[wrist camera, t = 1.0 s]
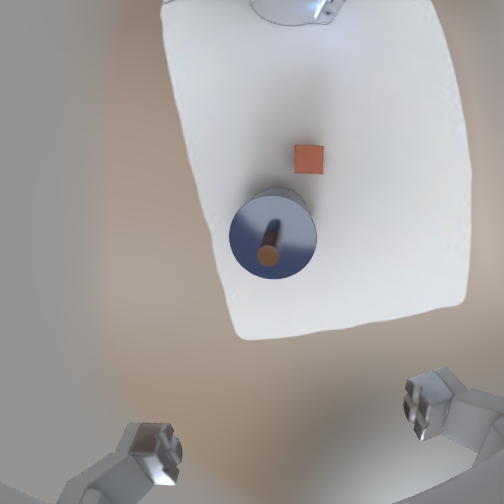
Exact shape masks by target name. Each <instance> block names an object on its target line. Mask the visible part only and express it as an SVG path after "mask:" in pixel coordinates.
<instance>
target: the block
mask: <svg viewBox="0 0 504 504" xmlns="http://www.w3.org/2000/svg"><path fill="white" fill-rule="evenodd" d="M323 149H324V146H309V145H295V173H308V174H323Z"/></svg>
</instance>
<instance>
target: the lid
mask: <svg viewBox="0 0 504 504" xmlns="http://www.w3.org/2000/svg"><path fill="white" fill-rule="evenodd" d="M229 241H230V247H231V250H232V252H233V254H234V256H235V258H236V259H237V261H238V262H239V263H240V265H241V266H242V267H243V268H245V269H246V270H247V271H249V272H250V273H252V274H254V275H256V276H259V277H262V278H266V279H282V278H286V277H289V276H292V275H294V274H296V273H298V272H299V271H300V270H302V269H303V268H304V267H305V266H306V265H307V264H308V263H309V261H310V260H311V258H312V256H313V254H314V251H315V248H316V243H317V235H316V228H315V225H314V222H313V220H312V218H311V216H310V214H309V213H308V212H307V210H306V209H305V208H304V207H303V206H302V205H300V204H299V203H298V202H296V201H294V200H293V199H290V198H288V197H285V196H281V195H263V196H260V197H257V198H254V199H252V200H250V201H249V202H247V203H246V204H245V205H243V206H242V207H241V208H240V209H239V210H238V212H237V213H236V215H235V216H234V218H233V220H232V223H231V226H230V231H229Z"/></svg>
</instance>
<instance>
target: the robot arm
mask: <svg viewBox="0 0 504 504" xmlns="http://www.w3.org/2000/svg"><path fill="white" fill-rule="evenodd" d="M344 2H345V0H250V3H251V6H252V7H253V9H254V10H255V12H256V13H257V14H259V15H260V16H261V17H262V18H264V19H266V20H268V21H270V22H273V23H276V24H280V25H288V26H294V25H302V24H307V23H317V24H329V23H331V22H332V20H333V19H334V17H335V15H336V14H337V12H338V11H339V9H340V8H341V6H342V5H343V3H344ZM326 13H330V15H327V14H326ZM405 389H406V390H407V392H408V393H407V395H406V396H405V397H404V404H403V406H404V412H405V415H406V417H407V419H408V421H409V422H411V423H414V424H415V425H414V431H415V433H416V435H417V436H418V438H419V440H420V441H421V442H422V441H424V440H427V439H430V438H432V437H435V436H437V435H439V434H442V435H444V436H445V437H447V438H449V439H451V440H453V441H455V442H457V443H459V444H461V445H463V446H465V447H467V448H469V449H471V450H473V451H475V452H477V453H479V454H478V456H477V457H476V459H475V461H474V463H473V466H472V468H470V469H469V470H467V471H465V472H463V473H461V474H459V475H457V476H455V477H454V478H452V479H450V480H448V481H446V482H443V483H442V484H439V485H437V486H435V487H433V488H431V489H428V490H426V491H424V492H421V493H419V494H417V495H414V496H412V497H409V498H407V499H404V500H401V501H399V502H396V503H393V504H504V397H500V396H497V395H493V394H489V393H485V392H482V391H478V390H475V389H469V390H467V388H466V387H465V386H464V385H463V384H462V383H461V382H460V381H459V380H458V379H457V378H456V377H455V376H454V374H453V373H452V372H451V371H450V370H449V369H448V368H447V367H446V366H442V367H440V368H437V369H435V370H432V371H430V372H428V373H425V374H422V375H420V376H417V377H414V378H412V379H409V380H407V382H406V386H405ZM173 432H174V430H173V428H172V426H171V424H168V423H132V422H131V423H129V424H128V425H127V427H126V429H125V431H124V434H123V436H122V438H121V440H120V442H119V445H118V447H117V449H116V451H115V453H110V454H109V455H107V456H106V457H104V458H103V459H101V460H100V461H98V462H97V463H95V464H94V465H92V466H91V467H89V468H88V469H87V470H85V471H83V472H82V473H80V474H79V475H78V476H76V477H74V478H73V479H71V480H70V481H68V482H67V484H66V485H65V488H64V489H63V492H62V493H61V495H60V498H59V499H58V502H57V504H137V502H138V501H140V500H141V499H142V497H143V496H144V495H145V494H146V493H147V492H148V491H149V490H150V489H151V488H152V487H153V486H154V484H160V485H176V483H177V478H178V474H179V470H178V468H177V467H176V466H177V465H178V464H179V463H180V462H181V460H182V446H181V443H180V441H179V439H178V438H177V437H175V436H173ZM0 504H51V503H48V502H45V501H43V500H41V499H38V498H35V497H33V496H31V495H28V494H26V493H24V492H21V491H19V490H17V489H15V488H13V487H11V486H9V485H7V484H5V483H3V482H1V481H0Z"/></svg>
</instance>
